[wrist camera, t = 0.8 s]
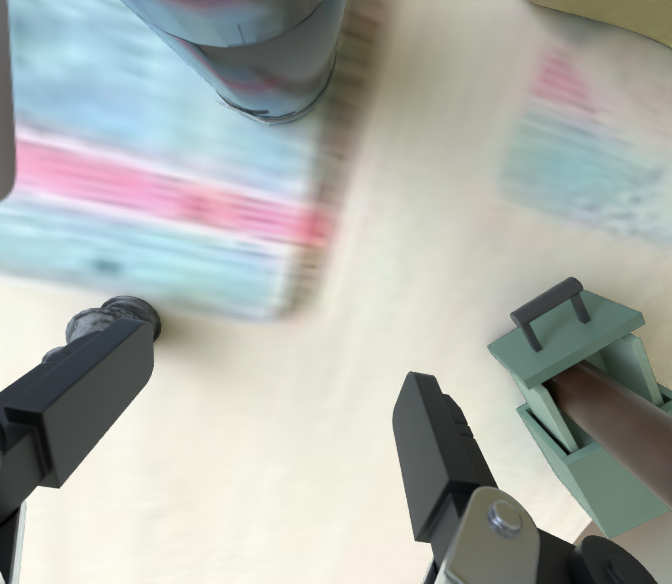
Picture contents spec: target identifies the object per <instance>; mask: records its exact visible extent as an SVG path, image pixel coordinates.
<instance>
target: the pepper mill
mask: <svg viewBox="0 0 672 584" xmlns="http://www.w3.org/2000/svg"><path fill="white" fill-rule="evenodd" d="M541 385H542V386H543V387H545V388H546V389H547V390H548V392H549V394H550V395H551V397H552V399H553V401H554V403H555V405H557V406H558V407H559V408H560V409H561V410H562V411H563V412H564V413H565V414H566V415H567V416H569V417H570V418H571V419H572V420H573V421H574V422H575V423H576V424H577V425H578V426H579V427H580V428H582V429H583V430H584V431H585V432H586V433H587V434H588V435H589V436H590V437H591V438H592V439H594V440H595V441H596V442H597V443H598V444H599V445H600V446H601V447H602V448H603V449H604V450H606V451H607V452H608V453H609V454H610V455H611V456H612V457H613V458H614V459H615V460H616V461H617V462H619V463H620V464H621V465H622V466H623V467H624V468H625V469H626V470H627V471H628V472H629V473H631V474H632V475H633V476H634V477H635V478H636V479H637V480H638V481H639V482H640V483H641V484H642V485H644V486H645V487H646V488H647V489H648V490H649V491H650V492H651V493H652V494H653V495H654V496H656V497H657V498H658V499H659V500H660V501H661V502H662V503H663V504H664V505H665V506H666V507H668V508H669V509H670V510H671V511H672V416H670V415H669V414H667V413H666V412H664V411H663V410H661V409H660V408H658V407H657V406H655V405H654V404H652V403H651V402H649V401H647V400H646V399H644V398H643V397H641V396H640V395H638V394H637V393H635V392H634V391H632V390H631V389H629V388H628V387H626V386H625V385H623V384H622V383H620V382H619V381H617V380H615V379H614V378H612V377H611V376H609V375H608V374H606V373H605V372H603V371H602V370H600V369H599V368H597V367H596V366H594V365H593V364H591V363H590V362H588V361H587V360H585V359H583V360H581V361H579V362H578V363H576V364H574V365H572V366H571V367H569V368H567V369H565V370H564V371H562V372H560V373H558V374H557V375H555V376H553V377H551V378H550V379H548V380H546V381H544V382H543V383H541Z"/></svg>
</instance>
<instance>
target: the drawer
mask: <svg viewBox="0 0 672 584" xmlns="http://www.w3.org/2000/svg"><path fill="white" fill-rule="evenodd" d="M510 317H511V319H512V320H513V321H514V323H515V324H516V325H518V326H519V327H518V328H516V329H515V330H513V331H511V332H510V333H508V334H506V335H505V336H503V337H501V338H500V339H498V340H497V341H495V342H493V343H492V344H490V345H488V346H487V347H488V349H489V351H490V352H491V354H492V355H493V356H494V357H495V358H496V359H497V360H498V361H499V362H500V363H501V364H502V365H503V366H504V367H505V368H506V369H507V370H508V371H509V372H510V373H511V375H512V377H513V378H514V380H515V382H516V383H517V385H518V387H519V389H520V390H521V392H522V394H523V396H524V397H525V399H526V401H527V402H528V404H529V406H530V408H531V409H532V411H533V413H534V414H535V416H536V418H537V420H538V421H539V423H540V424H541V425H542V426H543V427H544V428H545V429H546V430H547V432H548V433H549V434H550V435H551V436H552V437H553V438H554V439H555V440H556V441H557V442H558V443H559V444H560V445H561V446H562V447H563V449H564V450H565V451H566V452H567V453H568V454H569V455H570V454H572V453H574V452H576V451H577V450H579V449H581V448H583V447H585V446H587V445H589V444H591V443H593V442H594V441H595V440H594V439H592V438H591V437H590V436H589V435H588V434H587V433H586V432H585V431H584V430H583V429H582V428H580V427H579V426H578V425H577V424H576V423H575V422H574V421H573V420H572V419H571V418H570V417H569V416H567V415H566V414H565V413H564V412H563V411H562V410H561V409H560V408H559V407H558V406H557V405H555V403H554V401H553V399H552V397H551V395H550V394H549V392H548V390H547V389H546V388H545V387H543V386H542V385H541V383H543V382H544V381H546V380H548V379H550V378H551V377H553V376H555V375H557V374H558V373H560V372H562V371H564V370H565V369H567V368H569V367H571V366H572V365H574V364H576V363H578V362H579V361H581V360H583V359H585V360H587V361H588V362H590V363H591V364H593V365H594V366H596V367H597V368H599V369H600V370H602V371H603V372H605V373H606V374H608V375H609V376H611V377H612V378H614V379H615V380H617V381H619V382H620V383H622V384H623V385H625V386H626V387H628V388H629V389H631V390H632V391H634V392H635V393H637V394H638V395H640V396H641V397H643V398H644V399H646V400H647V401H649V402H651V403H652V404H654V405H655V406H657V407H660V406H662V405H664V402H663V399H662V396H661V394H660V391H659V388H658V385H657V383H656V380H655V377H654V374H653V372H652V369H651V366H650V363H649V361H648V358H647V355H646V352H645V350H644V347H643V344H642V341H641V339H640V338H639V337H637V336H635V335H633V334H631V333H630V332H632V331H633V330H635V329H637V328H639V327H640V326H642V325H644V324H645V321H644V318H643V316H642V313H641V312H638V311H636V310H633V309H631V308H628V307H626V306H623V305H621V304H618V303H616V302H613V301H611V300H609V299H606V298H604V297H601V296H599V295H596V294H594V293H591V292H589V291H586V290H584V289H583V286H582V284H581V283H580V282H579V281H578V280H577V279H576V278H574V277H569V278H567V279H566V280H564V281H562V282H561V283H559V284H557V285H556V286H554V287H553V288H551V289H549V290H548V291H546V292H544V293H543V294H541V295H540V296H538V297H536V298H535V299H533V300H531V301H530V302H528V303H527V304H525V305H523V306H522V307H520V308H518V309H517V310H515V311H514V312H512V313H510Z"/></svg>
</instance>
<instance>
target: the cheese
mask: <svg viewBox="0 0 672 584" xmlns="http://www.w3.org/2000/svg"><path fill="white" fill-rule="evenodd" d="M528 1H529V2H531V3H534V4H537V5H540V6H544V7H548V8H551V9H555V10H559V11H563V12H567V13H571V14H575V15H578V16H582V17H586V18H590V19H594V20H597V21H601V22H605V23H608V24H612V25H615V26H618V27H621V28H625V29H628V30H631V31H633V32H636V33H639V34H642V35H644V36H647V37H649V38H652V39H654V40H656V41H658V42H660V43H662V44H664V45H666V46H668V47H670V48H672V0H528Z"/></svg>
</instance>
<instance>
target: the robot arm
mask: <svg viewBox="0 0 672 584" xmlns="http://www.w3.org/2000/svg"><path fill="white" fill-rule="evenodd" d="M121 1H122V2H123V3H124V4H125V5H126V6H127V7H128V8H129V9H130V10H131V11H132V12H133V13H135V14H136V15H137V16H138V17H139V18H140V19H141V20H142V21H143V22H144V23H145V24H146V25H147V26H148V27H149V28H150V29H151V30H153V31H154V32H155V33H156V34H157V35H158V36H159V37H160V38H161V39H162V40H163V41H164V42H165V43H166V44H167V45H168V46H169V47H170V48H172V49H173V50H174V51H175V52H176V53H177V54H178V55H179V56H180V57H181V58H182V59H183V60H184V61H185V62H186V63H187V64H188V65H190V66H191V67H192V68H193V69H194V70H195V71H196V72H197V73H198V74H199V75H200V76H201V77H202V78H203V79H204V80H205V81H206V82H207V83H209V84H210V85H211V86H212V87H213V88H214V89H215V90H216V92H217V93H218V94H219V95H220V96H221V97H222V99H223V100H224V101H226V102H227V103H228V104H229V105H230V106H229V105H226V104H224V103H222V102H219V101H217V100H216V101H217V102H218V103H220V104H221V105H223V106H225V107H228V108H230V109H232V110H234V111H237V112H239V113H240V114H242V115H244V116H246V117H248V118H250V119H252V120H255V121H258V122H262V123H264V124H266V125H269V124H280V123H286V122H290V121H293V120H295V119H298V118H300V117H302V116H303V115H305V114H306V113H308V112H309V111H310V110H311V109H313V108H314V107H315V106H316V104H317V103H318V102H319V101H320V100H321V98H322V97H323V95H324V94H325V92H326V90H327V88H328V86H329V84H330V81H331V78H332V75H333V71H334V66H335V61H336V53H337V45H338V40H339V35H340V30H341V25H342V20H343V15H344V10H345V5H346V0H121ZM268 123H269V124H268ZM269 126H270V125H269ZM153 367H154V348H153V327H152V324H151V323H150V322H147V321H141V320H136V319H131V318H125V317H121V318H119V319H117V320H116V321H115V322H113V323H112V324H111V325H109V326H108V327H107V328H105V329H104V330H103V331H99V330H96V331H94V332H91V333H89V334H86V335H84V336H81V337H79V338H76V339H75V340H73V341H72V342H70V343H69V344H68V345H66V346H65V347H63V348H62V349H60V350H59V352H58V353H55V354H53V355H52V356H51V357H49V358H48V359H46V360H45V362H44V363H43V364H42V363H41V364H39V365H38V366H36V367H35V368H34V369H32V370H31V371H29V372H28V373H27V374H25V375H24V376H22V377H21V378H19V379H18V380H17V381H15V382H14V383H12V384H11V385H10V386H8V387H7V388H5V389H4V390H3V391H1V392H0V584H19V578H20V568H21V558H22V548H23V538H24V528H25V518H26V508H27V507H26V500H25V499H26V498H27V497H28V496H29V495H30V494H31V493H32V491H33V490H34V489H35V488H36V487H37V486H44V487H51V488H58V489H59V488H60V487H61V486H62V485H63V484H64V482H65V481H66V480H67V479H68V478H69V476H70V475H71V474H72V473H73V472H74V470H75V469H76V468H77V467H78V466H79V464H80V463H81V462H82V461H83V460H84V458H85V457H86V456H87V455H88V454H89V452H90V451H91V450H92V449H93V448H94V446H95V445H96V444H97V443H98V442H99V440H100V439H101V438H102V437H103V436H104V434H105V433H106V432H107V431H108V430H109V428H110V427H111V426H112V425H113V424H114V422H115V421H116V420H117V419H118V418H119V416H120V415H121V414H122V413H123V412H124V410H125V409H126V408H127V407H128V406H129V404H130V403H131V402H132V401H133V400H134V398H135V397H136V396H137V395H138V394H139V392H140V391H141V390H142V389H143V388H144V386H145V385H146V384H147V382H148V381H149V379H150V377H151V374H152V371H153ZM392 423H393V431H394V436H395V441H396V446H397V451H398V457H399V462H400V467H401V472H402V477H403V482H404V487H405V493H406V498H407V503H408V508H409V513H410V518H411V524H412V529H413V534H414V539H415V541H418V542H425V543H431V547H432V551H433V555H434V556H433V558H432V560H431V561H430V563H429V566H428V568H427V571H426V573H425V575H424V578H423V580H422V583H421V584H657V582H656V581H655V580H654V578H653V577H652V575H651V574H650V573H649V572H648V571H647V570H646V569H645V567H644V566H643V565H641V563H640V562H639V561H638V560H636V559H635V558H634V557H633V556H632V555H631V554H630V553H628V552H627V551H626V550H624V549H623V548H622V547H620V546H619V545H617V544H615V543H614V542H612V541H610V540H608V539H606V538H603V537H600V536H595V535H591V536H587V537H585V538H584V540H583V541H582V542H581V543H580V544H579V545H578V546H575V545H573V544H570V543H568V542H566V541H564V540H562V539H560V538H558V537H556V536H554V535H551V534H549V533H547V532H545V531H543V530H541V529H539V528H537V527H536V525H535V523H534V521H533V520H532V518H531V516H530V515H529V514H528V512H527V511H526V510H525V509H524V508H523V506H522V505H521V504H520V503H519V502H517V501H516V500H515V499H514V498H513V497H511V496H510V495H508V494H507V493H505V492H503V491H501V490H499V488H498V486H497V484H496V482H495V480H494V478H493V476H492V474H491V471H490V469H489V467H488V465H487V463H486V461H485V459H484V457H483V454H482V452H481V450H480V448H479V446H478V444H477V442H476V440H475V439H474V438H473V436H474V435H473V433H472V431H471V429H470V427H469V426H468V425H467V424H468V423H467V421H466V419H465V416H464V414H463V412H462V410H461V408H460V407H459V406H458V405H457V404H456V403H455V401H454V400H453V399H452V398H451V397H450V396H449V395H447V394H442V392H441V389H440V387H439V384H438V382H437V380H436V378H435V377H434V376H433V375H428V374H422V373H417V372H412V371H410V372H409V373H408V374H407V376H406V378H405V381H404V384H403V386H402V389H401V391H400V394H399V396H398V399H397V402H396V404H395V407H394V411H393V419H392Z"/></svg>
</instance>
